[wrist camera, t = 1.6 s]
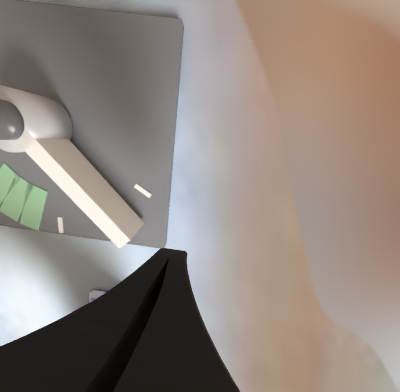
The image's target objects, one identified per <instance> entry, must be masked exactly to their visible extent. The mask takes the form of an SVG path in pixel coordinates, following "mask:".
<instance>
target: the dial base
mask: <svg viewBox="0 0 400 392" xmlns="http://www.w3.org/2000/svg"><path fill="white" fill-rule="evenodd" d="M183 30H184V26H183V22H182V19H178V18H169V17H161V16H152V15H143V14H134V13H126V12H117V11H108V10H99V9H91V8H82V7H73V6H64V5H55V4H47V3H38V2H29V1H20V0H0V85H2V86H6V87H10V88H14V89H18V90H21V91H25V92H29V93H33V94H36V95H40V96H44V97H48V98H51V99H53V100H55V101H57V102H58V103H59V104H61V105H62V106H63V107H64V109H65V110H66V111H67V113H68V114H69V117H70V119H71V122H72V137H71V139H70V141H71V142H72V144H73V145H74V146H75V147H76V148H77V149H78V150H79V151H80V152H81V153H82V155H83V156H84V157H85V158H86V159H87V160H88V161H89V162H90V163H91V165H92V166H93V167H94V168H95V169H96V170H97V171H98V172H99V173H100V175H101V176H102V177H103V178H104V179H105V180H106V181H107V182H108V183H109V185H110V186H111V187H112V188H113V189H114V190H115V191H116V192H117V193H118V194H119V196H120V197H121V198H122V199H123V200H124V201H125V202H126V203H127V204H128V206H129V207H130V208H131V209H132V210H133V211H134V212H135V213H136V214H137V216H138V217H139V218H140V219H141V220H142V221H143V222H144V225H143V226H142V227H141V228H140V229H139V231H138V232H137V233H136V234H135V236H134V237H133V238H132V239H131V240H130V241H129V242H128V243H127V244H134V245H141V246H148V247H154V248H164V247H165V245H166V240H167V228H168V215H169V203H170V191H171V178H172V166H173V154H174V141H175V129H176V117H177V104H178V92H179V80H180V67H181V55H182V43H183ZM0 225H2V226H9V227H16V228H23V229H30V230H37V231H44V232H50V233H57V234H64V235H71V236H78V237H85V238H92V239H99V240H106V241H111V240H110V239H109V238H108V237H107V236H106V235H105V234H104V232H103V231H102V230H101V229H100V228H99V227H98V226H97V225H96V224H95V223H94V222H93V221H92V220H91V219H90V218H89V217H88V216H87V215H86V214H85V213H84V212H83V211H82V210H81V209H80V208H79V207H78V206H77V205H76V204H75V203H74V202H73V201H72V199H71V198H70V197H69V196H68V195H67V194H66V193H65V192H64V191H63V190H62V189H61V188H60V187H59V186H58V185H57V184H56V183H55V182H54V181H53V180H52V179H51V178H50V177H49V176H48V175H47V174H46V173H45V172H44V171H43V170H42V169H41V168H40V166H39V165H38V164H37V163H36V162H35V161H34V160H33V159H32V158H31V157H30V156H29V155H28V154H27V153H26V152H16V153H14V152H7V151H4V150H2V149H0Z"/></svg>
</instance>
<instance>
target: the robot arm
mask: <svg viewBox="0 0 400 392" xmlns="http://www.w3.org/2000/svg"><path fill="white" fill-rule="evenodd" d="M0 392H240V391H239V389H238V387H237V386H236V384H235V382H234V381H233V379H232V377H231V375H230V374H229V372H228V370H227V368H226V366H225V365H224V363H223V361H222V359H221V358H220V356H219V354H218V352H217V350H216V348H215V346H214V344H213V342H212V340H211V337H210V335H209V333H208V331H207V329H206V327H205V325H204V322H203V320H202V317H201V315H200V312H199V310H198V307H197V304H196V301H195V298H194V295H193V292H192V288H191V284H190V280H189V275H188V270H187V253H186V251H180V250H173V249H167V248H161V249H159V250H158V251H157V252H156V253H155V254H154V255H153V256H152V257H151V258H150V259H149V260H147V261H146V262H145V263H144V264H143V265H142V266H140V267H139V268H138V269H137V270H136V271H135V272H133V273H132V274H131V275H129V276H128V277H127V278H125V279H124V280H123V281H122V282H120V283H119V284H118V285H116V286H115V287H113V288H112V289H110V290H109V291H107V292H103V291H96V290H92V291H91V292H90V293H89V303H88V304H86V305H85V306H83V307H81V308H79V309H77V310H76V311H74V312H72V313H70V314H68V315H67V316H65V317H63V318H61V319H59V320H57V321H55V322H53V323H51V324H49V325H47V326H45V327H43V328H41V329H38V330H36V331H34V332H32V333H30V334H28V335H26V336H23V337H21V338H19V339H17V340H14V341H12V342H10V343H7V344H5V345H3V346H0Z"/></svg>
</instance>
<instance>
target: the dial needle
mask: <svg viewBox="0 0 400 392" xmlns="http://www.w3.org/2000/svg"><path fill="white" fill-rule="evenodd" d="M71 137H72V122H71V119H70V117H69V114H68V113H67V111H66V110H65V109H64V107H63V106H62V105H61V104H59V103H58V102H57V101H55V100H53V99H51V98H48V97H44V96H40V95H36V94H33V93H29V92H25V91H21V90H18V89H14V88H10V87H6V86H2V85H0V149H2V150H4V151H7V152H14V153H16V152H26V153H27V154H28V155H29V156H30V157H31V158H32V159H33V160H34V161H35V162H36V163H37V164H38V165H39V166H40V168H41V169H42V170H43V171H44V172H45V173H46V174H47V175H48V176H49V177H50V178H51V179H52V180H53V181H54V182H55V183H56V184H57V185H58V186H59V187H60V188H61V189H62V190H63V191H64V192H65V193H66V194H67V195H68V196H69V197H70V198H71V199H72V201H73V202H74V203H75V204H76V205H77V206H78V207H79V208H80V209H81V210H82V211H83V212H84V213H85V214H86V215H87V216H88V217H89V218H90V219H91V220H92V221H93V222H94V223H95V224H96V225H97V226H98V227H99V228H100V229H101V230H102V231H103V232H104V234H105V235H106V236H107V237H108V238H109V239H110V240H111V241H112V242H113V243H114V244H115V245H116V246H117V247H118V248H119V249H120V248H121V247H122V246H124V245H125V244H126V243H128V242H129V241H130V240H131V239H132V238H133V237H134V236H135V234H136V233H137V232H138V231H139V229H140V228H141V227H142V226H143V225H144V222H143V221H142V220H141V219H140V218H139V217H138V216H137V214H136V213H135V212H134V211H133V210H132V209H131V208H130V207H129V206H128V204H127V203H126V202H125V201H124V200H123V199H122V198H121V197H120V196H119V194H118V193H117V192H116V191H115V190H114V189H113V188H112V187H111V186H110V185H109V183H108V182H107V181H106V180H105V179H104V178H103V177H102V176H101V175H100V173H99V172H98V171H97V170H96V169H95V168H94V167H93V166H92V165H91V163H90V162H89V161H88V160H87V159H86V158H85V157H84V156H83V155H82V153H81V152H80V151H79V150H78V149H77V148H76V147H75V146H74V145H73V144H72V142H71V141H70V139H71Z"/></svg>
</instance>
